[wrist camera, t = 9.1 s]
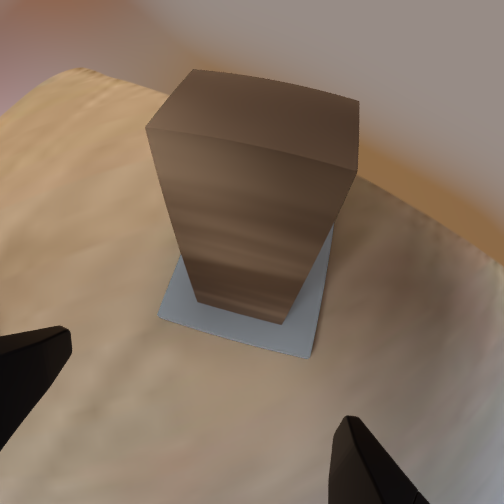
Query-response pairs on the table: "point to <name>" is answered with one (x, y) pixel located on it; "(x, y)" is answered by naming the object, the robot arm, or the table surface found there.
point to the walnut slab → (252, 184)
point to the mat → (247, 328)
